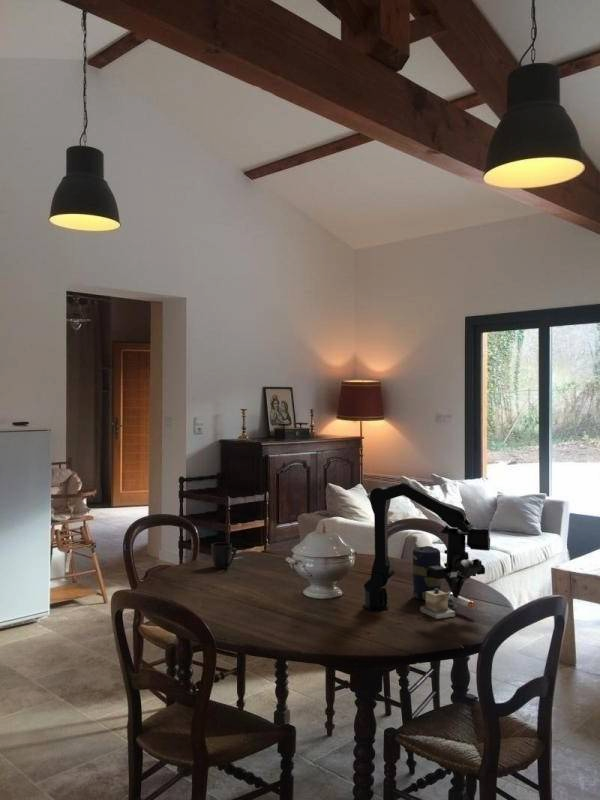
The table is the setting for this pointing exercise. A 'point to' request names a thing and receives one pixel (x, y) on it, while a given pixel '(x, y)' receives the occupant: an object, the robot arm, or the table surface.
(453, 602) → the grey metal flanged disc
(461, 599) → the lever
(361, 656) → the table surface
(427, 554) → the canister
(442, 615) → the plate
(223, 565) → the mug
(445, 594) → the block
